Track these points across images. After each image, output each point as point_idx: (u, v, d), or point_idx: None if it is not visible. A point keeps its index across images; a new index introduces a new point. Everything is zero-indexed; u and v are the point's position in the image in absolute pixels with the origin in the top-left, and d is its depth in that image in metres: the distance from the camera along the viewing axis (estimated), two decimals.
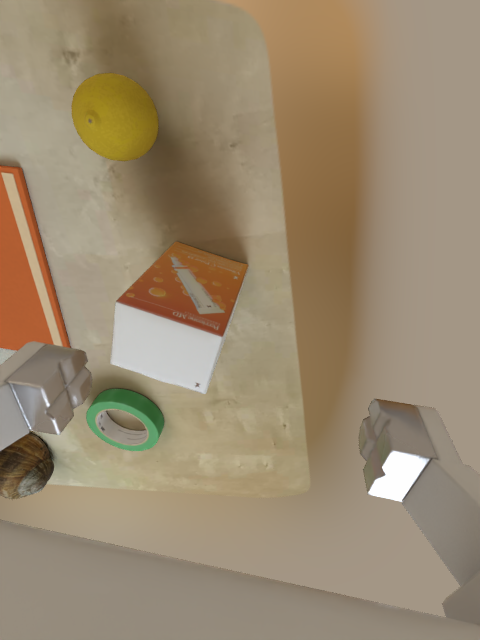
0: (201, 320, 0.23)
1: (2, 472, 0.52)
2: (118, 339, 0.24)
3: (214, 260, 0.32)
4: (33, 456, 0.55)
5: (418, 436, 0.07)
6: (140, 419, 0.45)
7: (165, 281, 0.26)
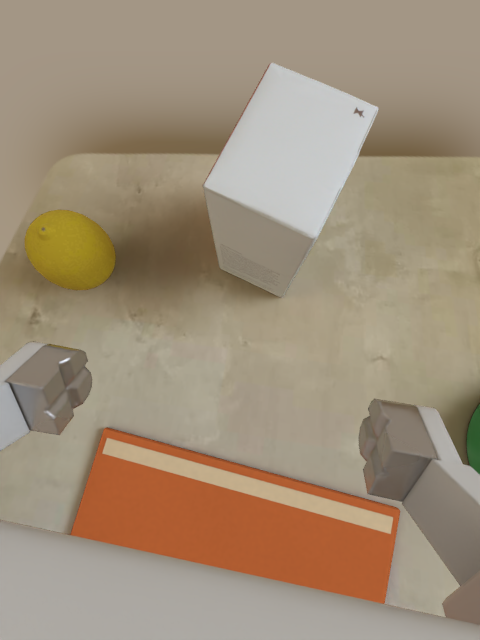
0: None
1: None
2: (266, 204, 0.15)
3: None
4: None
5: (418, 436, 0.07)
6: None
7: None
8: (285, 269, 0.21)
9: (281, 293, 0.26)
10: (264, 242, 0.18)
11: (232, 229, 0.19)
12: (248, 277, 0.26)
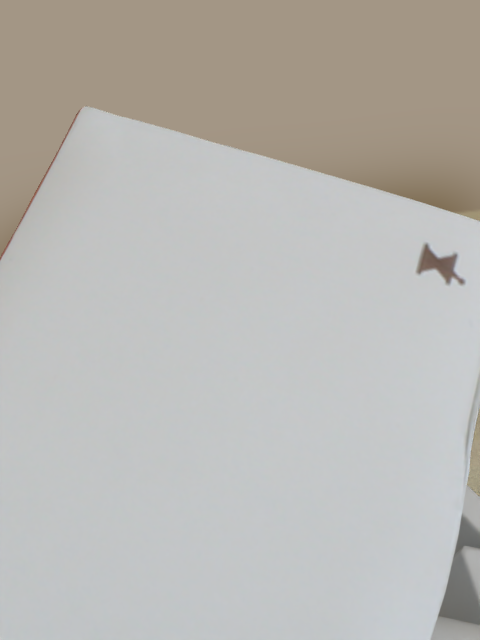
0: None
1: None
2: None
3: None
4: None
5: None
6: None
7: None
8: None
9: None
10: None
11: None
12: None
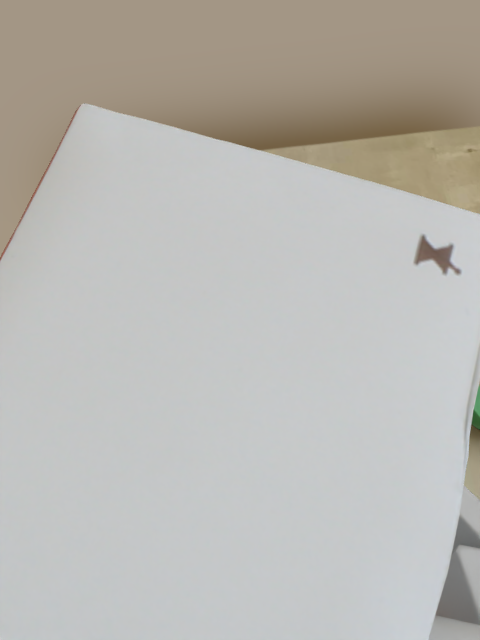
0: None
1: None
2: None
3: None
4: None
5: None
6: None
7: None
8: None
9: None
10: None
11: None
12: None
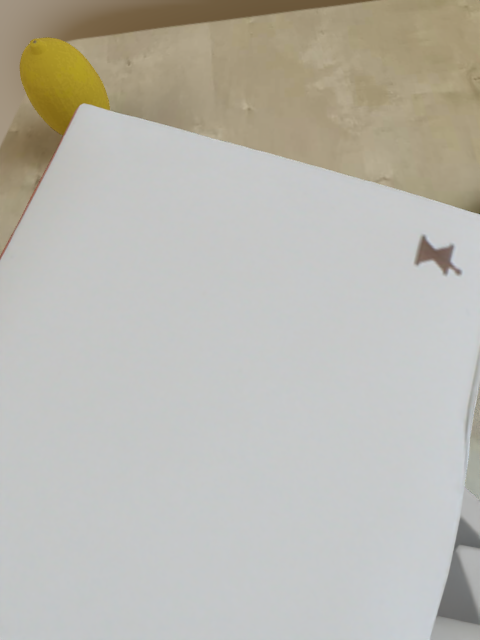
0: None
1: None
2: None
3: None
4: None
5: None
6: None
7: None
8: None
9: None
10: None
11: None
12: None
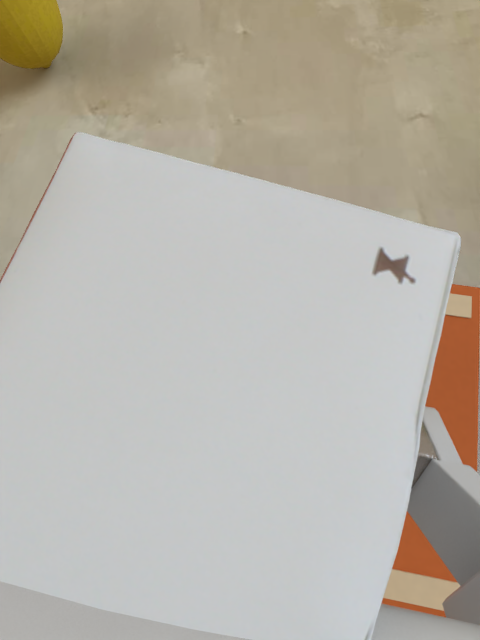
0: None
1: None
2: None
3: None
4: None
5: None
6: None
7: None
8: None
9: None
10: None
11: None
12: None
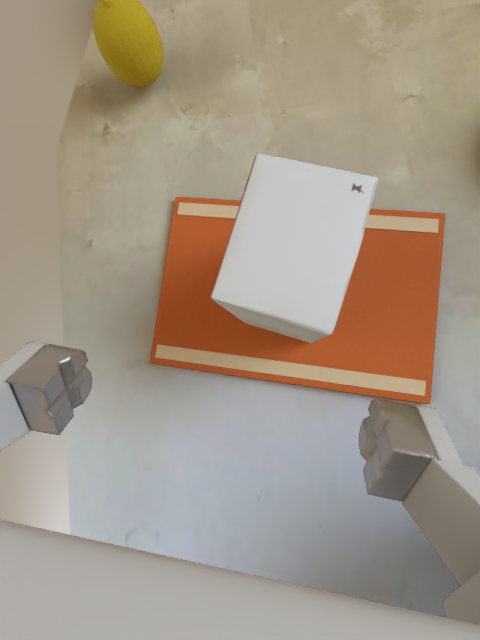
0: None
1: None
2: (275, 307, 0.15)
3: None
4: None
5: (418, 436, 0.07)
6: None
7: None
8: (308, 337, 0.20)
9: (310, 342, 0.26)
10: (281, 326, 0.18)
11: (248, 316, 0.19)
12: (274, 331, 0.26)
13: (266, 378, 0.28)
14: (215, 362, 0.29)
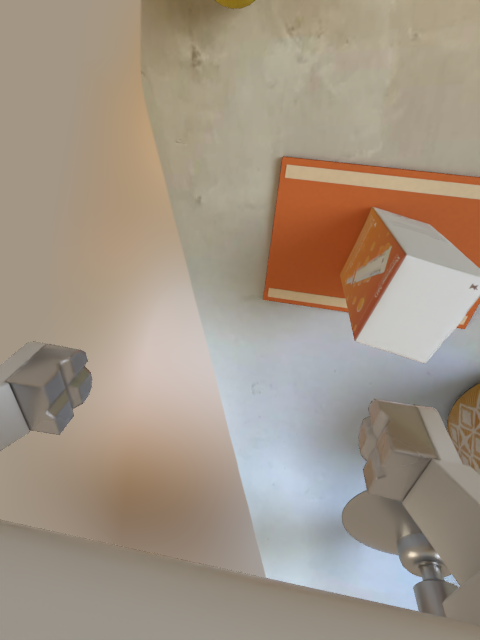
0: (388, 272, 0.23)
1: None
2: (395, 349, 0.26)
3: (359, 242, 0.33)
4: None
5: (418, 436, 0.07)
6: None
7: (357, 294, 0.29)
8: None
9: None
10: None
11: None
12: None
13: None
14: (314, 300, 0.39)
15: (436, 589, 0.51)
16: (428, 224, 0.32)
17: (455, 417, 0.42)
